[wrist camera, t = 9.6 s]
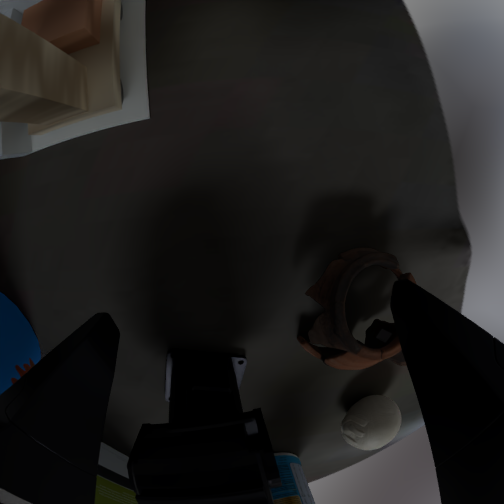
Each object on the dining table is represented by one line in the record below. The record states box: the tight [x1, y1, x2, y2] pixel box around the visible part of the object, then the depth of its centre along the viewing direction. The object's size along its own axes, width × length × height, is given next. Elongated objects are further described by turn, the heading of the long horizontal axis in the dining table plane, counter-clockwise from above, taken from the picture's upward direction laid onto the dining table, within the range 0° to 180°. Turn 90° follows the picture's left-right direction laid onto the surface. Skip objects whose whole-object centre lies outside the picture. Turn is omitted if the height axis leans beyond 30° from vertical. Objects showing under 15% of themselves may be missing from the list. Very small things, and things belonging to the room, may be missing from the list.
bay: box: [0, 0, 150, 159], centre depth 10 cm, size 12×11×5 cm
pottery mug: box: [297, 248, 416, 370], centre depth 21 cm, size 12×10×8 cm
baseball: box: [341, 395, 401, 450], centre depth 26 cm, size 7×7×7 cm
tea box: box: [95, 442, 138, 504], centre depth 19 cm, size 15×10×15 cm, turn 124°
